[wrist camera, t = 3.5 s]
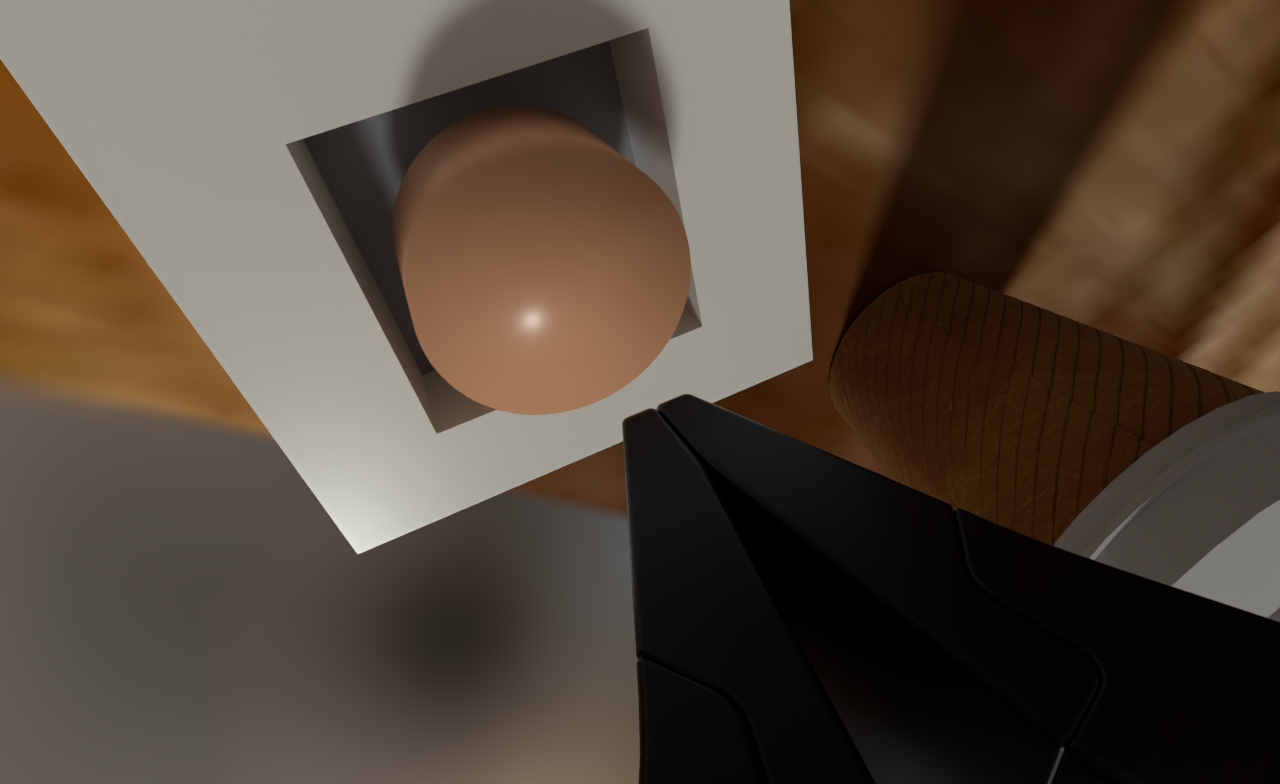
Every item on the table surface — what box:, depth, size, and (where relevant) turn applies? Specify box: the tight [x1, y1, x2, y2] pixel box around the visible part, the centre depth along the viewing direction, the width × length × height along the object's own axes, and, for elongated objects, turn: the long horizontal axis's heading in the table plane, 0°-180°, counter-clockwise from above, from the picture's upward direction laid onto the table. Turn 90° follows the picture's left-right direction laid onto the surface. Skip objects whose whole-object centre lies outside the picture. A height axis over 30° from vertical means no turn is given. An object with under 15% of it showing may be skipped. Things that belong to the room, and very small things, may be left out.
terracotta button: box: [392, 106, 691, 415], centre depth 13 cm, size 5×5×3 cm
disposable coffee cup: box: [829, 272, 1280, 622], centre depth 21 cm, size 10×10×12 cm
